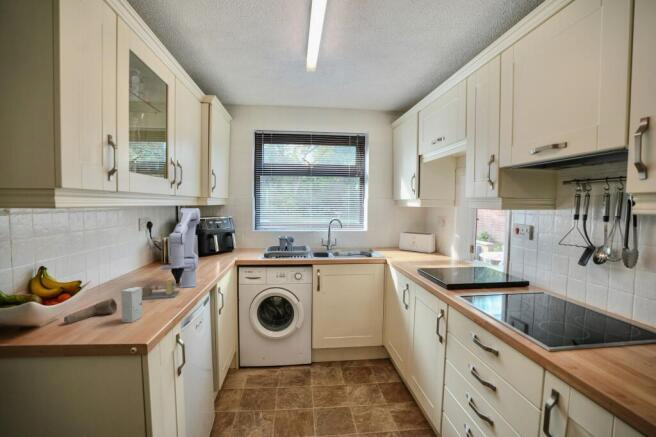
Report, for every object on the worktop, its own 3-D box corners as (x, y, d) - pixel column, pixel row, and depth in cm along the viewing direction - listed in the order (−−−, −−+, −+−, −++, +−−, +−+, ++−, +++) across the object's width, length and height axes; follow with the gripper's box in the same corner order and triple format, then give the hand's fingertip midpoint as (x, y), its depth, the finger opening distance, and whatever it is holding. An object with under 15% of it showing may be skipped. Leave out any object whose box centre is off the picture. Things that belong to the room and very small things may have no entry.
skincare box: (132, 322, 110) (131, 291, 110) (120, 322, 110) (120, 291, 110) (143, 316, 116) (142, 286, 116) (132, 316, 116) (131, 286, 116)
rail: (139, 300, 137) (139, 289, 137) (147, 294, 146) (146, 283, 146) (174, 297, 141) (174, 287, 140) (179, 291, 150) (179, 281, 150)
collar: (166, 294, 141) (165, 282, 141) (169, 291, 147) (169, 279, 147) (171, 294, 142) (171, 282, 142) (174, 290, 148) (174, 279, 148)
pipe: (58, 312, 108) (79, 309, 106) (101, 298, 124) (120, 296, 122) (61, 329, 108) (82, 327, 106) (103, 313, 124) (122, 311, 122)
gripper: (159, 258, 139) (159, 286, 140) (191, 257, 143) (192, 284, 143) (163, 256, 146) (163, 282, 146) (194, 254, 150) (194, 280, 150)
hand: (177, 283), depth 145 cm, fingers closed
